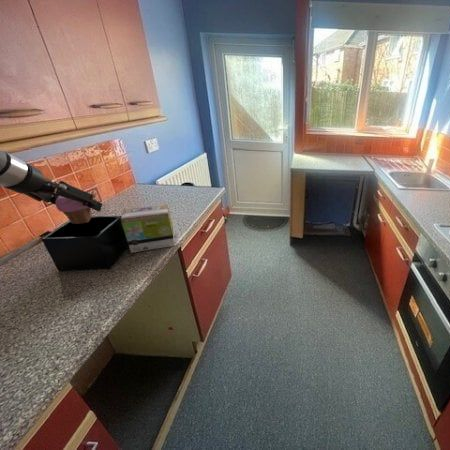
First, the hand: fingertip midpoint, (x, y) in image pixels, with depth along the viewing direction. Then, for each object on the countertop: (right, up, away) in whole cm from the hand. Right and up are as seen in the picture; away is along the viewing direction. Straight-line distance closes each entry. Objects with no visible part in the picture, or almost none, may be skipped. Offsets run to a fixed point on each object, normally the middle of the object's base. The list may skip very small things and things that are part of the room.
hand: (85, 207), depth 83 cm
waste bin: (-1, -18, +7) cm, 19 cm away
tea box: (+14, -14, +16) cm, 25 cm away
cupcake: (0, -5, -1) cm, 5 cm away
